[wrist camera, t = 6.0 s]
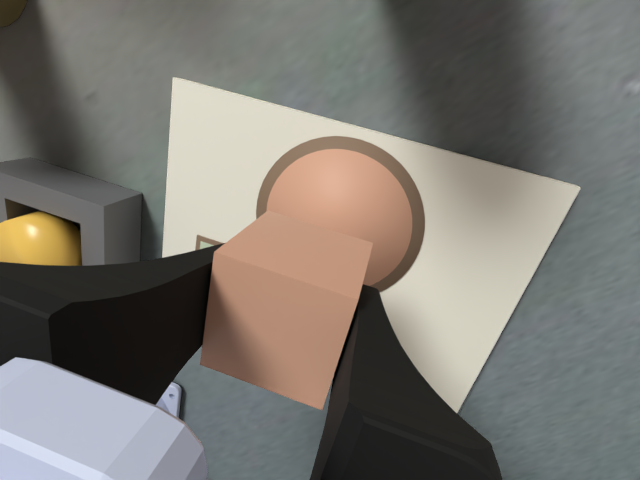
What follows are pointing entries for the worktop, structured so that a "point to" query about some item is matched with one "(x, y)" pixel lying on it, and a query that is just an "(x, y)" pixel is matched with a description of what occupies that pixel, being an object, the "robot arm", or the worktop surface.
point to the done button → (40, 240)
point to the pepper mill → (10, 11)
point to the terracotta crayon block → (283, 305)
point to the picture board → (370, 216)
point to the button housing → (76, 207)
